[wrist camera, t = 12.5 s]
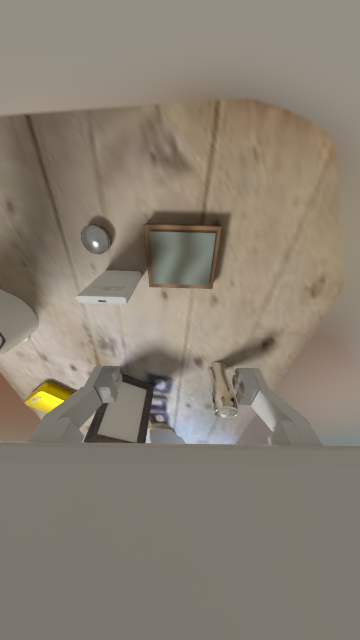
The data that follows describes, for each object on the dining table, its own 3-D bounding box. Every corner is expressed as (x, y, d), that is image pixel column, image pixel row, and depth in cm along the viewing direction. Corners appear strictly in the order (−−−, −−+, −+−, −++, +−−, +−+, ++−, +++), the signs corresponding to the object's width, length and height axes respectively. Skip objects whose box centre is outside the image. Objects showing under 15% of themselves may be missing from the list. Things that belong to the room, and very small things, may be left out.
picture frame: (154, 385, 62) (143, 454, 45) (151, 387, 63) (140, 456, 46) (113, 370, 57) (84, 441, 40) (111, 373, 58) (82, 444, 41)
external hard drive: (142, 278, 38) (127, 305, 27) (106, 276, 38) (78, 303, 27) (141, 271, 37) (125, 296, 27) (104, 270, 37) (75, 294, 26)
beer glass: (202, 367, 56) (207, 413, 44) (217, 357, 53) (228, 403, 41) (215, 376, 58) (224, 421, 46) (231, 366, 55) (245, 412, 43)
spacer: (90, 251, 35) (85, 253, 33) (82, 224, 32) (77, 225, 30) (113, 252, 35) (110, 254, 33) (108, 225, 32) (104, 226, 30)
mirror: (151, 282, 38) (149, 287, 36) (146, 223, 31) (143, 224, 29) (210, 284, 38) (212, 289, 36) (219, 225, 31) (222, 227, 29)
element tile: (47, 379, 61) (38, 391, 57) (83, 396, 68) (77, 408, 64) (30, 393, 67) (21, 404, 63) (65, 407, 73) (58, 419, 70)
